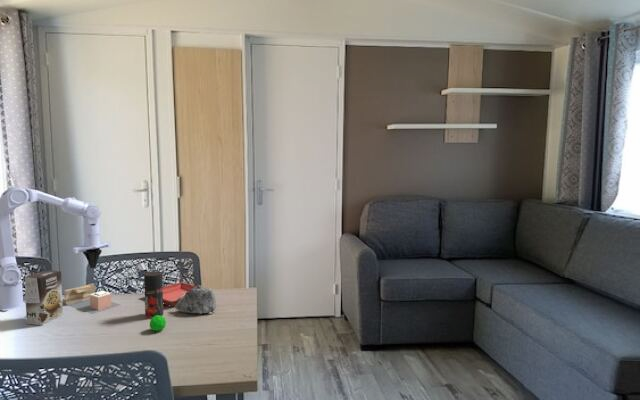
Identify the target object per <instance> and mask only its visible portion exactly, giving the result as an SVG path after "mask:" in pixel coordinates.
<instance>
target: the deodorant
mask: <svg viewBox="0 0 640 400" xmlns="http://www.w3.org/2000/svg"><path fill="white" fill-rule="evenodd" d="M143 276H144V277H143V279H144V280H143V282H144V292H145V293H144V311H145V312H144V314H145V315H144V317H145V318H147V319H152V318H153V317H154V316H156V315H160V316H162V315H164V304H163V287H164V285H163V284H164V283H163V272H161V271H156V270H155V271H148V272H146V273H144V274H143ZM162 317H163V316H162Z"/></svg>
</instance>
